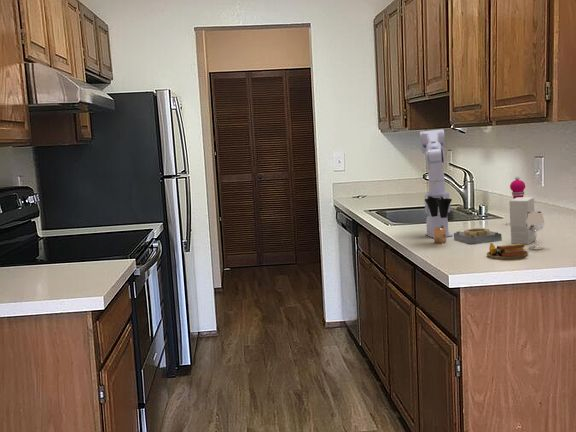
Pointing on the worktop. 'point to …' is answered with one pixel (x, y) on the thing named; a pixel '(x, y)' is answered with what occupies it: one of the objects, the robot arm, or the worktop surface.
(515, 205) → the skincare box
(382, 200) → the worktop surface
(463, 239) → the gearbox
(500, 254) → the toy sandwich meal
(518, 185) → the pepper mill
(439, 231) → the copper spout can
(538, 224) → the wineglass
